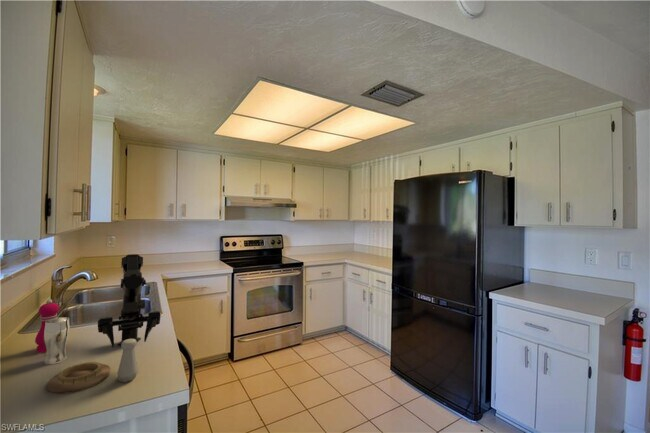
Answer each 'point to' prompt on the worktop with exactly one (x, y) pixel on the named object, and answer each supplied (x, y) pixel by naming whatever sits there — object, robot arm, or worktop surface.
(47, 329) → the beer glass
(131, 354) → the salt shaker
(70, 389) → the ring tray
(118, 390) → the worktop surface
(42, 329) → the pepper mill
